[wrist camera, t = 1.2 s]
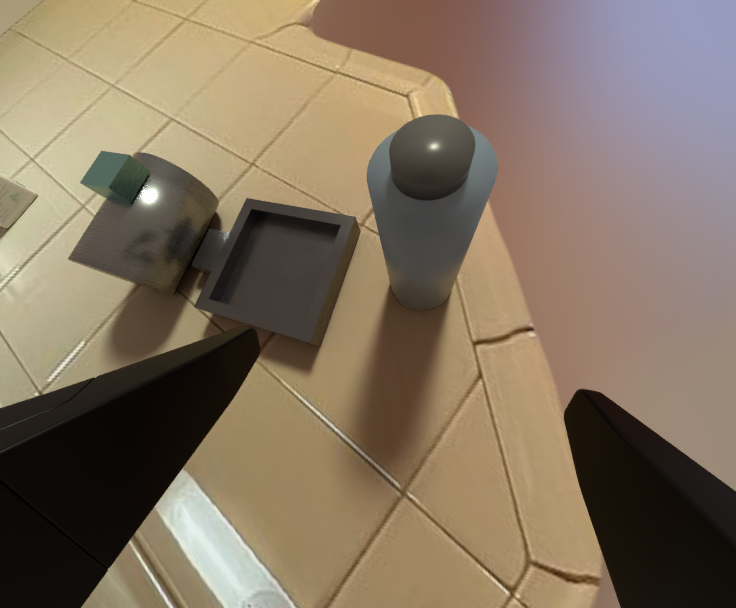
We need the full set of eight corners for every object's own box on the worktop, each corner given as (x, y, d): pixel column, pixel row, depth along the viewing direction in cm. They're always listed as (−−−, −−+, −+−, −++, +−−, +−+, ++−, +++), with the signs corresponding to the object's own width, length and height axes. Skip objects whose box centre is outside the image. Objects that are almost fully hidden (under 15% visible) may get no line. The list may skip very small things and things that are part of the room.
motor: (320, 346, 21) (264, 325, 13) (134, 289, 26) (14, 248, 18) (360, 231, 24) (334, 155, 16) (184, 198, 29) (97, 128, 21)
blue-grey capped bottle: (444, 317, 20) (492, 217, 8) (383, 302, 22) (344, 194, 9) (458, 260, 22) (517, 98, 9) (399, 249, 23) (383, 91, 10)
